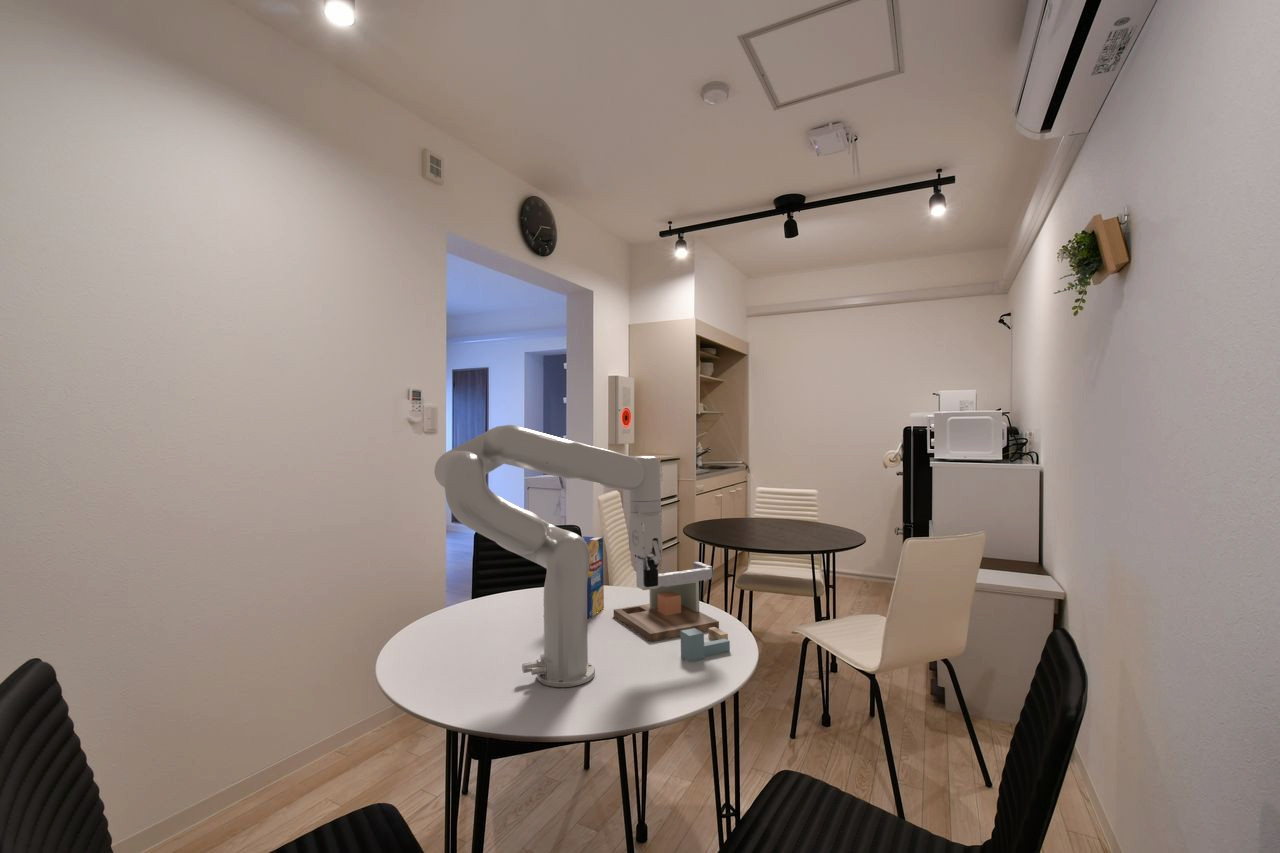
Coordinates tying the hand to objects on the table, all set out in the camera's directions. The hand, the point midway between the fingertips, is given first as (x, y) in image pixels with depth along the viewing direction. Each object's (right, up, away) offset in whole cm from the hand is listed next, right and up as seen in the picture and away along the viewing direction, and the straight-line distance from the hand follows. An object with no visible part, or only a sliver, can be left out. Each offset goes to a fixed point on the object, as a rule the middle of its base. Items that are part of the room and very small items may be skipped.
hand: (647, 583), depth 134 cm
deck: (+5, -18, +25) cm, 31 cm away
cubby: (+8, -16, +30) cm, 35 cm away
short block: (+18, -18, +10) cm, 28 cm away
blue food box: (-18, -19, +35) cm, 43 cm away
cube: (+7, -16, +28) cm, 33 cm away
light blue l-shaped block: (+14, -17, 0) cm, 22 cm away
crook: (+7, -1, +6) cm, 9 cm away
